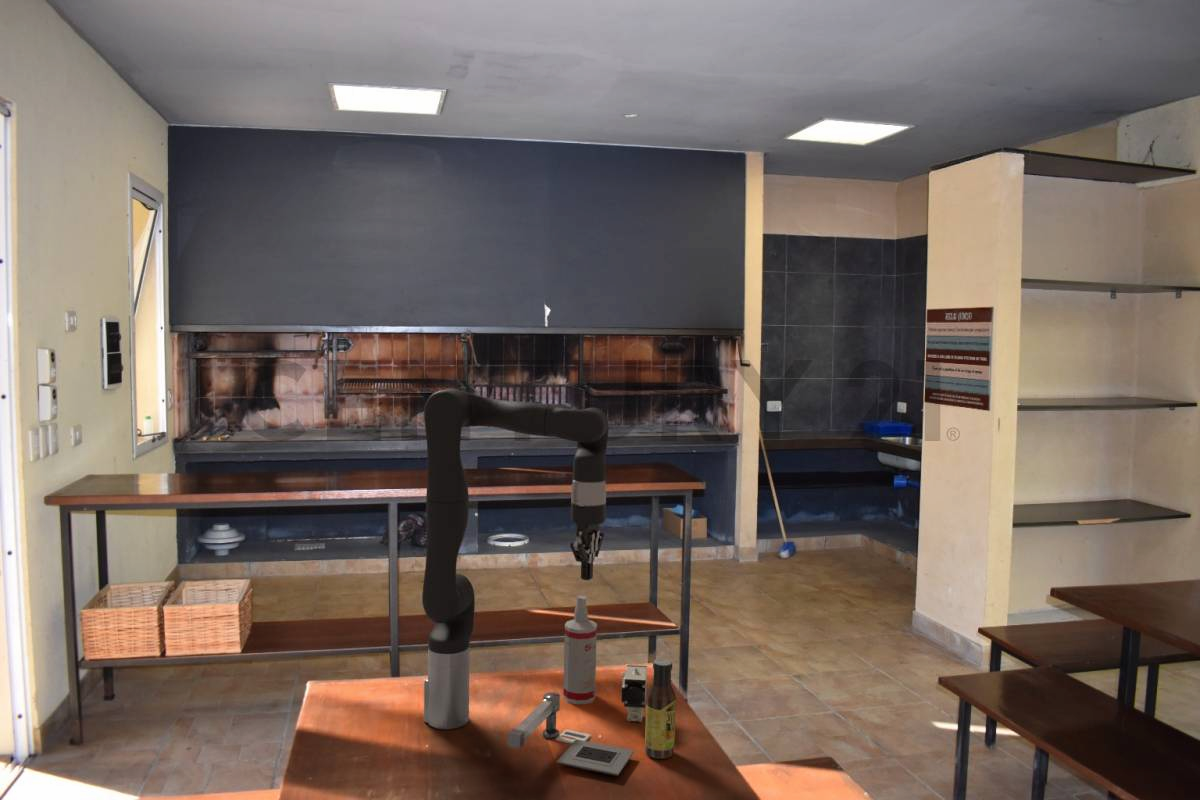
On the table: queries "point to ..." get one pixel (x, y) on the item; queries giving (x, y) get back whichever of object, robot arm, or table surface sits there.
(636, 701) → the pneumatic valve
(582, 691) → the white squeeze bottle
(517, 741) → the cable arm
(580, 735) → the label plate
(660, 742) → the sauce bottle
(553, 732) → the arm post
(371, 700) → the table surface
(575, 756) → the electrical outlet
